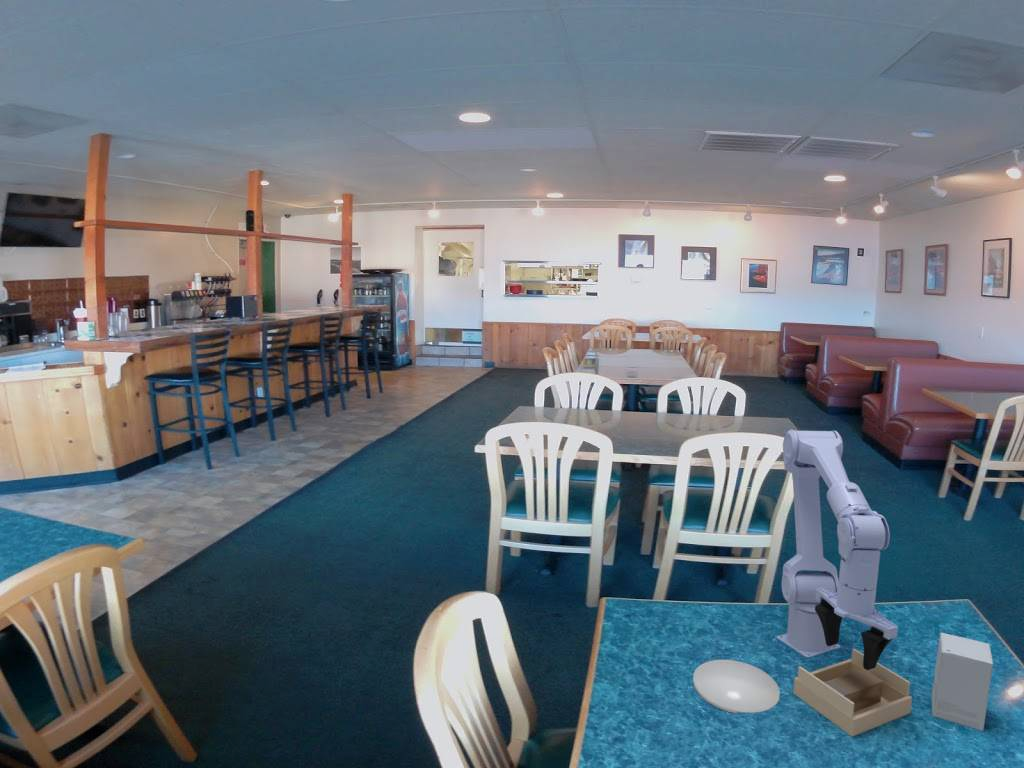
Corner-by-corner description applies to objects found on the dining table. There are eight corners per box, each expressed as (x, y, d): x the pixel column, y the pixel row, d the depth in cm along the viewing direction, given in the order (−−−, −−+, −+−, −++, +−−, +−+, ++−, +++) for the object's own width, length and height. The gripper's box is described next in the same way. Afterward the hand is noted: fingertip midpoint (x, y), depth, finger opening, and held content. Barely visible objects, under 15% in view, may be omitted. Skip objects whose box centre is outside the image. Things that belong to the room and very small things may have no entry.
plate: (737, 656, 131) (738, 652, 131) (798, 701, 117) (798, 697, 117) (676, 674, 125) (676, 671, 125) (732, 724, 111) (733, 720, 111)
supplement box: (984, 734, 109) (994, 664, 107) (931, 718, 113) (940, 650, 111) (981, 709, 116) (990, 643, 113) (931, 694, 119) (939, 630, 117)
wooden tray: (848, 675, 125) (851, 646, 124) (910, 715, 114) (913, 684, 113) (792, 695, 119) (795, 665, 118) (851, 739, 108) (855, 706, 107)
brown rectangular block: (860, 688, 120) (862, 668, 119) (880, 701, 117) (882, 681, 116) (820, 703, 116) (822, 682, 115) (839, 717, 112) (842, 696, 112)
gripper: (805, 569, 117) (799, 639, 120) (879, 607, 104) (871, 685, 107) (834, 562, 120) (827, 630, 123) (909, 598, 107) (900, 674, 110)
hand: (849, 655), depth 115 cm, fingers open, 7 cm apart
